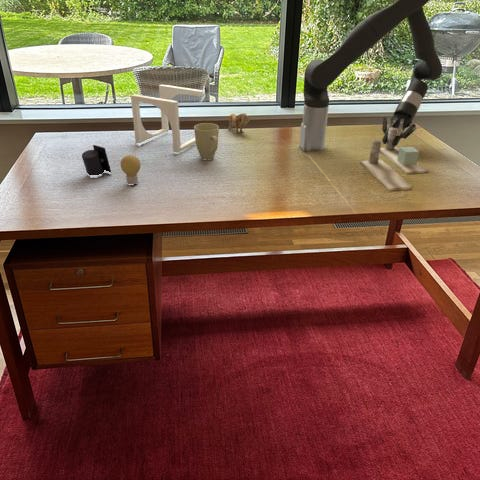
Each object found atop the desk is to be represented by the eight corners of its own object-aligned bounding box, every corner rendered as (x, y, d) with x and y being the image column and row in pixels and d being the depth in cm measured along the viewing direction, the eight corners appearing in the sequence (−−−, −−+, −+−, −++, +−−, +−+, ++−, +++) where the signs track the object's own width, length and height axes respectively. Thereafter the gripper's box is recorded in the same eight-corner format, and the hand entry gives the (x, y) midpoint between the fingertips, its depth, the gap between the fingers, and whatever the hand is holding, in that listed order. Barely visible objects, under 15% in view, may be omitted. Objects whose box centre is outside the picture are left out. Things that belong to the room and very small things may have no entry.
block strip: (406, 173, 171) (411, 149, 166) (377, 149, 191) (381, 127, 186) (427, 172, 172) (432, 148, 167) (396, 148, 192) (400, 126, 188)
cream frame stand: (165, 131, 210) (161, 84, 200) (205, 139, 202) (203, 90, 192) (136, 146, 195) (130, 95, 184) (177, 154, 187) (174, 102, 176)
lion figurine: (251, 134, 208) (252, 113, 204) (241, 136, 205) (242, 115, 201) (230, 125, 218) (230, 105, 213) (221, 127, 215) (221, 107, 211)
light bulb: (145, 181, 165) (143, 153, 160) (136, 189, 160) (133, 160, 154) (129, 179, 166) (126, 151, 161) (119, 186, 161) (115, 158, 156)
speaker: (105, 168, 173) (98, 142, 167) (112, 174, 170) (106, 147, 163) (84, 175, 170) (77, 148, 164) (91, 182, 166) (84, 154, 160)
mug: (190, 161, 181) (188, 129, 175) (201, 152, 189) (200, 121, 183) (216, 165, 178) (216, 133, 172) (227, 156, 186) (227, 125, 180)
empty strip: (389, 190, 159) (393, 165, 154) (360, 163, 179) (364, 139, 174) (412, 189, 160) (417, 163, 155) (381, 161, 180) (385, 138, 176)
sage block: (403, 165, 175) (406, 152, 173) (397, 160, 179) (399, 147, 177) (416, 164, 176) (419, 151, 173) (409, 159, 180) (412, 146, 178)
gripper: (389, 97, 189) (369, 135, 188) (424, 104, 181) (403, 143, 180) (393, 108, 195) (374, 145, 194) (427, 115, 187) (407, 153, 186)
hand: (388, 144), depth 187 cm, fingers closed on block strip, 3 cm apart
